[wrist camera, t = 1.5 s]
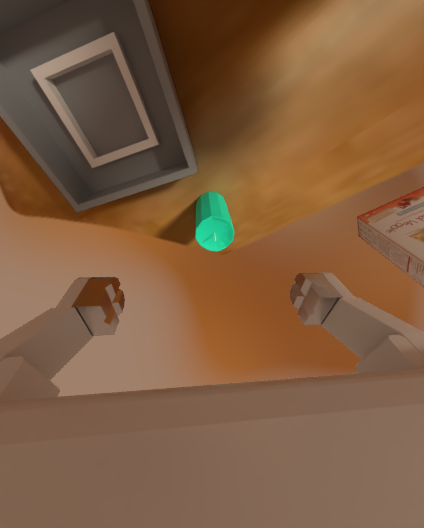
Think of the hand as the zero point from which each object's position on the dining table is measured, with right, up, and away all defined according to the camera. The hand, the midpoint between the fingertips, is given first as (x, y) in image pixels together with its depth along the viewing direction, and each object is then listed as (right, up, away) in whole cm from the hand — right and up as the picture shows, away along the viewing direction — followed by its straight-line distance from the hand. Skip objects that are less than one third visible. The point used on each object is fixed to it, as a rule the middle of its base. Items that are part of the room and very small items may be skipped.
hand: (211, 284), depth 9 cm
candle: (0, +12, +28) cm, 31 cm away
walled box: (-15, +23, +18) cm, 33 cm away
